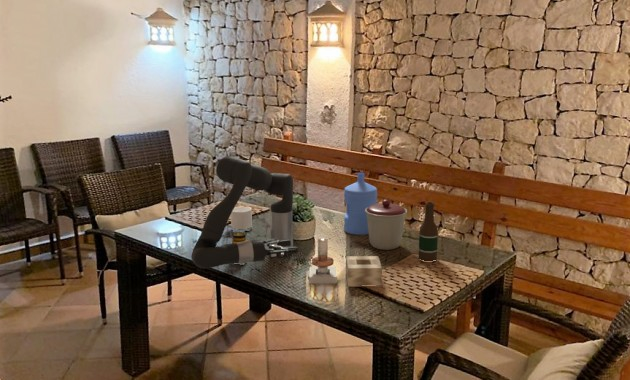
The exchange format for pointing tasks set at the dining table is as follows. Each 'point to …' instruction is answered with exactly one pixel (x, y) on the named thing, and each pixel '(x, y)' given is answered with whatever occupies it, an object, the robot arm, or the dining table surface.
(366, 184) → the water jug
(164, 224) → the dining table surface
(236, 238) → the condiment
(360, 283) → the block
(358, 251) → the dining table surface
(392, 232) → the canister
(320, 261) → the pin
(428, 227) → the beer bottle
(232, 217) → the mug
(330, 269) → the pin stand
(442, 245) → the dining table surface
